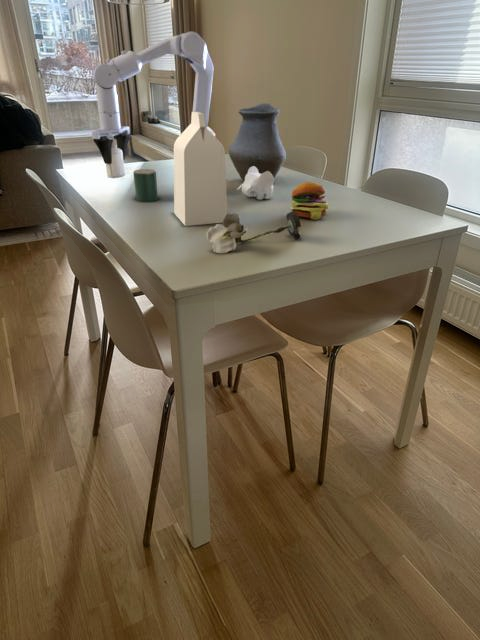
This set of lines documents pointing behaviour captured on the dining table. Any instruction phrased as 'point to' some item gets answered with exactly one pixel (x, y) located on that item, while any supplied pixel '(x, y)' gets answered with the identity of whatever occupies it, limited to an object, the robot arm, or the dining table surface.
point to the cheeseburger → (309, 201)
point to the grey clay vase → (258, 141)
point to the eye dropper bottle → (115, 162)
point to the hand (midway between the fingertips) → (114, 161)
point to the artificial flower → (243, 232)
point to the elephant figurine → (258, 184)
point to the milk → (199, 175)
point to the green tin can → (145, 185)
